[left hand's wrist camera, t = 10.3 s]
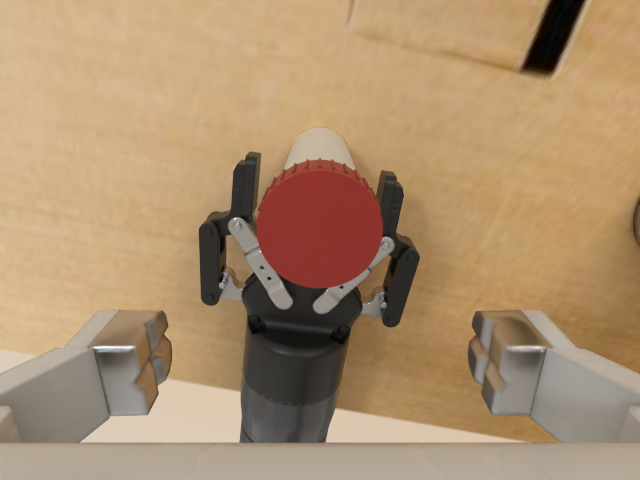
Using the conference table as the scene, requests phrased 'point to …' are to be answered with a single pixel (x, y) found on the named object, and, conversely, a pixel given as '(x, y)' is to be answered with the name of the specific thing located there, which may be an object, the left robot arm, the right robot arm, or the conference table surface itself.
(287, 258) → the lid
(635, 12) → the conference table surface
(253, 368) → the right robot arm
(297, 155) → the white bottle
